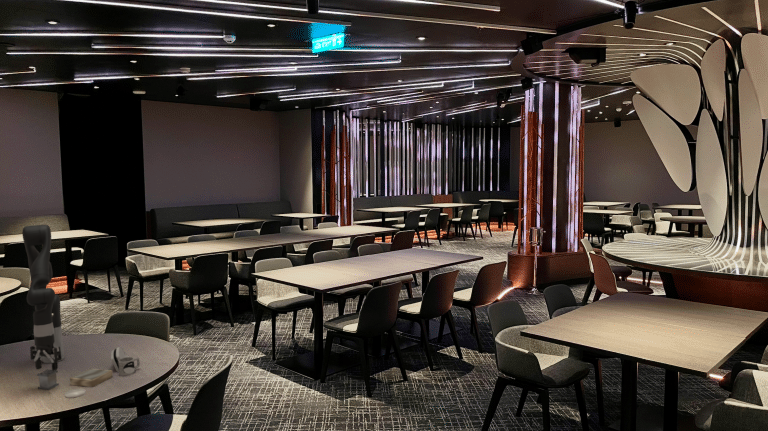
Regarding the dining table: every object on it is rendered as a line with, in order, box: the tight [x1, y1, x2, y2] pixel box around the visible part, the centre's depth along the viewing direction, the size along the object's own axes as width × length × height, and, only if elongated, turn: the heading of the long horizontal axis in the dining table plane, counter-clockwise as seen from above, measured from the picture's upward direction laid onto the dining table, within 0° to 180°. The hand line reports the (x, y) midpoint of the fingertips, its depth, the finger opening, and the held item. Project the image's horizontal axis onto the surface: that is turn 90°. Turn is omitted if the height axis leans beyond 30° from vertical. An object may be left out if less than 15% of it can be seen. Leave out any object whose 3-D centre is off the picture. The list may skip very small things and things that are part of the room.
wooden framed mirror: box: [69, 368, 114, 388], centre depth 255 cm, size 12×12×3 cm
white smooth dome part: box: [64, 387, 87, 399], centre depth 241 cm, size 8×8×1 cm
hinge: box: [110, 346, 131, 373], centre depth 273 cm, size 17×5×10 cm, turn 20°
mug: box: [118, 356, 141, 377], centre depth 265 cm, size 10×7×7 cm
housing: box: [36, 369, 59, 391], centre depth 249 cm, size 6×6×7 cm
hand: (46, 369), depth 248 cm, fingers open, 8 cm apart
